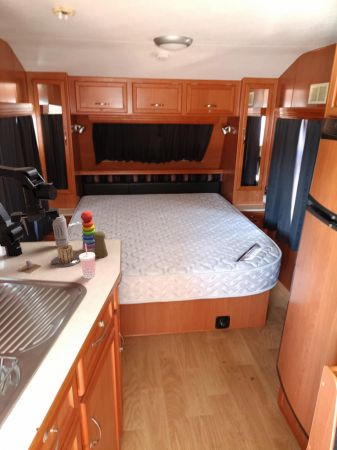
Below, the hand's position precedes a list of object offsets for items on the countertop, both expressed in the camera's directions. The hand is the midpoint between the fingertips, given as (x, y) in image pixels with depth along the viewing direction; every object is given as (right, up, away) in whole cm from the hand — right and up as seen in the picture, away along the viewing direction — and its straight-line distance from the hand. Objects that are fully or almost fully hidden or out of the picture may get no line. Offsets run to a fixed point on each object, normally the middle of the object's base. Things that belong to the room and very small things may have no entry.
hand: (39, 233), depth 140 cm
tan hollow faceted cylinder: (+12, -11, 0) cm, 16 cm away
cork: (+25, -10, +7) cm, 28 cm away
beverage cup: (+24, -16, -10) cm, 31 cm away
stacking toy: (+19, -8, +13) cm, 25 cm away
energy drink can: (+5, -6, +17) cm, 19 cm away
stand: (-2, -15, -5) cm, 16 cm away
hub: (+12, -12, +1) cm, 17 cm away
